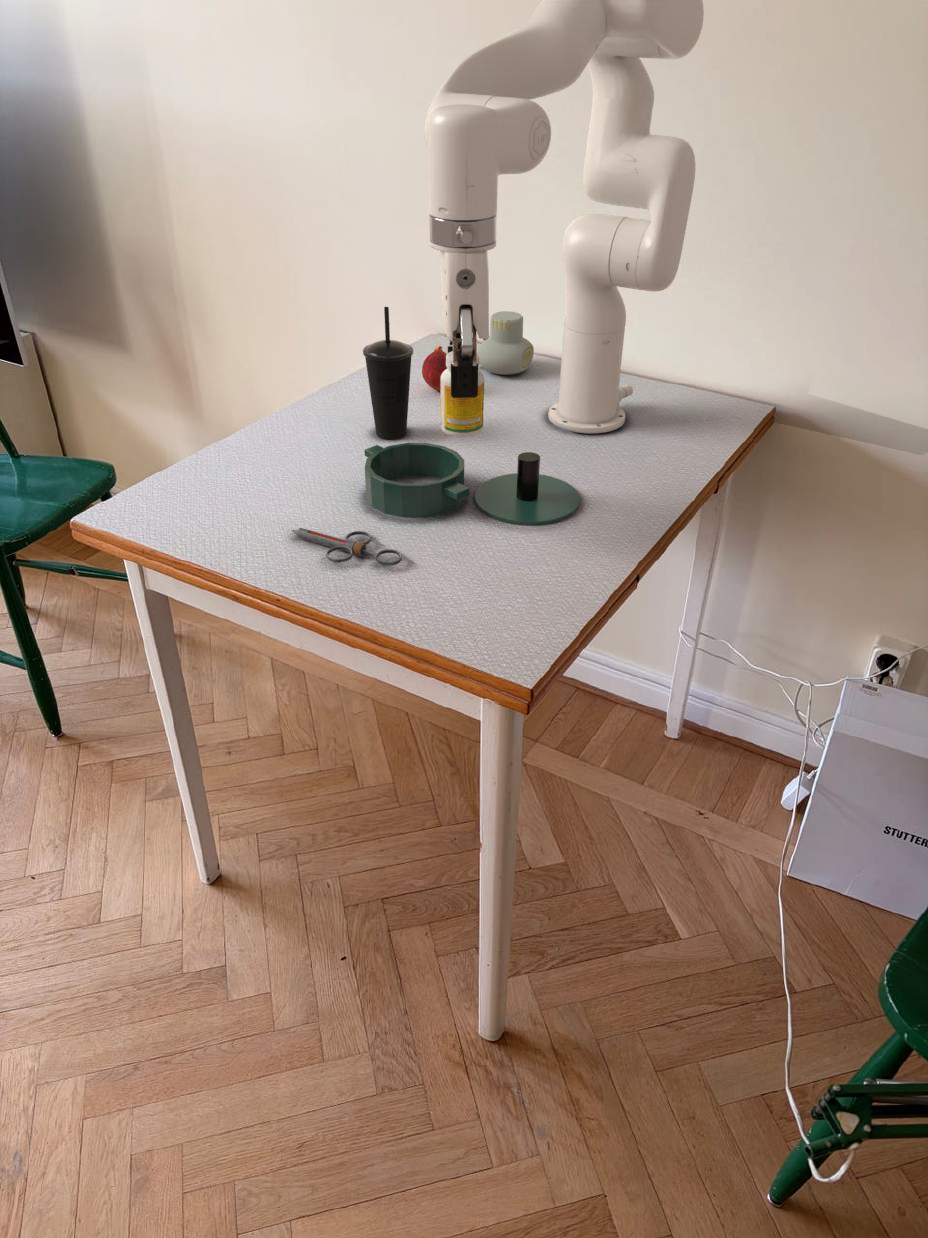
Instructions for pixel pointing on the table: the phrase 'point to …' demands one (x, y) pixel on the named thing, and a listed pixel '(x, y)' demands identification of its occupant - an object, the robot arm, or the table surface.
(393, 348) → the drinking cup
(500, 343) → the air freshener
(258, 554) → the table surface
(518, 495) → the lid
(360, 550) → the syringe
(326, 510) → the table surface
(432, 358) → the onion
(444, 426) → the supplement bottle
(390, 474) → the pot
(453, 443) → the table surface
